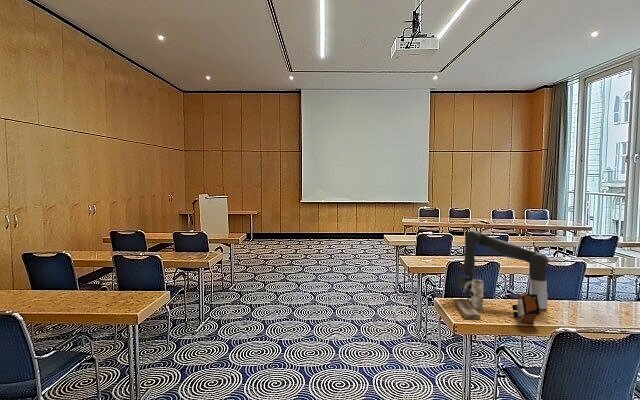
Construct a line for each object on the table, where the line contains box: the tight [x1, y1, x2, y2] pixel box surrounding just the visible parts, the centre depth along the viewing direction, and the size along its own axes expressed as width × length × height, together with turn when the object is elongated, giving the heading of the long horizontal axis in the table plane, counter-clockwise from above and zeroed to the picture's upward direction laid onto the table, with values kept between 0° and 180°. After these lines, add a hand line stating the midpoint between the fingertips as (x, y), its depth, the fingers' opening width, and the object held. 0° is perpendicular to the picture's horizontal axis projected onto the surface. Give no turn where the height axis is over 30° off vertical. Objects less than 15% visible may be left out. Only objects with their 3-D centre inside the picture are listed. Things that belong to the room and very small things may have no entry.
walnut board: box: [454, 300, 481, 321], centre depth 252 cm, size 8×30×3 cm, turn 173°
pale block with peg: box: [470, 277, 485, 310], centre depth 261 cm, size 6×6×18 cm
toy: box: [511, 293, 541, 324], centre depth 235 cm, size 16×6×20 cm
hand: (478, 294), depth 258 cm, fingers closed on pale block with peg, 5 cm apart
